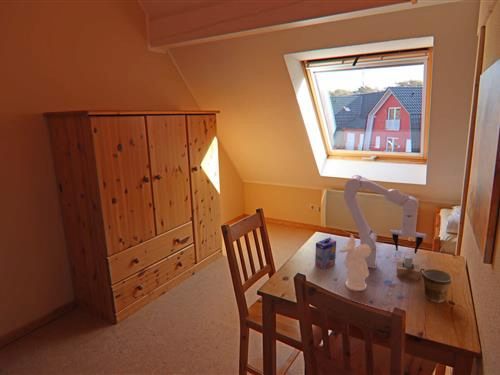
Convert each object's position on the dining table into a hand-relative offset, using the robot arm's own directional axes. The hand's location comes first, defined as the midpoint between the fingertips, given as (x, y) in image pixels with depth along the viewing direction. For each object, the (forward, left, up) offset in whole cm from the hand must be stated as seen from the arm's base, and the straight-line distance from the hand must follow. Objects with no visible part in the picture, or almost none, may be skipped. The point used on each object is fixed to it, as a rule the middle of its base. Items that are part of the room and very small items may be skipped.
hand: (405, 251), depth 146 cm
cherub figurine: (-21, -23, -10) cm, 32 cm away
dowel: (+1, -3, -10) cm, 10 cm away
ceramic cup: (+9, -19, -10) cm, 23 cm away
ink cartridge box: (-35, -7, -10) cm, 37 cm away
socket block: (+1, -3, -10) cm, 10 cm away
